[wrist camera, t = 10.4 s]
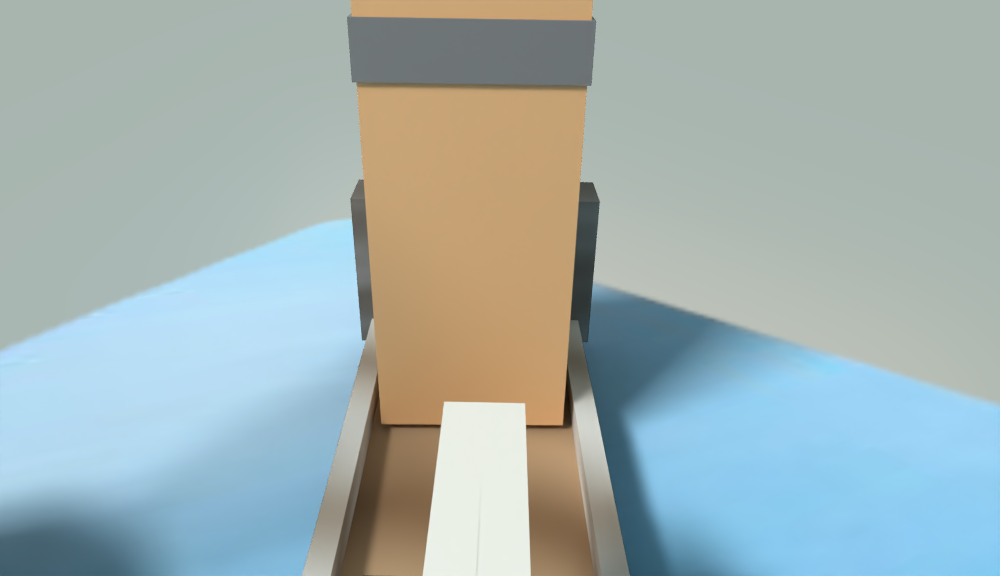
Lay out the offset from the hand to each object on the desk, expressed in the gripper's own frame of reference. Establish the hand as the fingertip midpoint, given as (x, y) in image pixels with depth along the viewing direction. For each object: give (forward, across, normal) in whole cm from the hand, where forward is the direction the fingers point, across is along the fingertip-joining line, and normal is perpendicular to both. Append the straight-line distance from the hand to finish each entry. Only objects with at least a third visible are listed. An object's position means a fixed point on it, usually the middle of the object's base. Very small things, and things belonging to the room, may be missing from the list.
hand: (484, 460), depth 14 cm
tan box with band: (+11, -1, -6) cm, 13 cm away
